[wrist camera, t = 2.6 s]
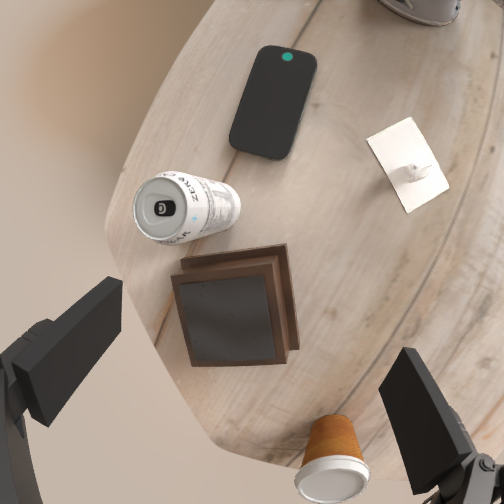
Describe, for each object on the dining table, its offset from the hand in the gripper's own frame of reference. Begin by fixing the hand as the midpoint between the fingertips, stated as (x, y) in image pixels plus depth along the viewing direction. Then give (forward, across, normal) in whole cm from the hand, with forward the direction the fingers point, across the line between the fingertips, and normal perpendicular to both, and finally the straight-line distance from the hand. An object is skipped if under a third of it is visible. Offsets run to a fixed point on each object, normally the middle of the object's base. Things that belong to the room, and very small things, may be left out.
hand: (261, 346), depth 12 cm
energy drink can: (+25, -6, 0) cm, 26 cm away
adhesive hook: (+23, +14, +12) cm, 30 cm away
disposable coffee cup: (+18, +17, -26) cm, 36 cm away
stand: (+23, -1, -10) cm, 25 cm away
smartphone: (+26, -3, +15) cm, 30 cm away
